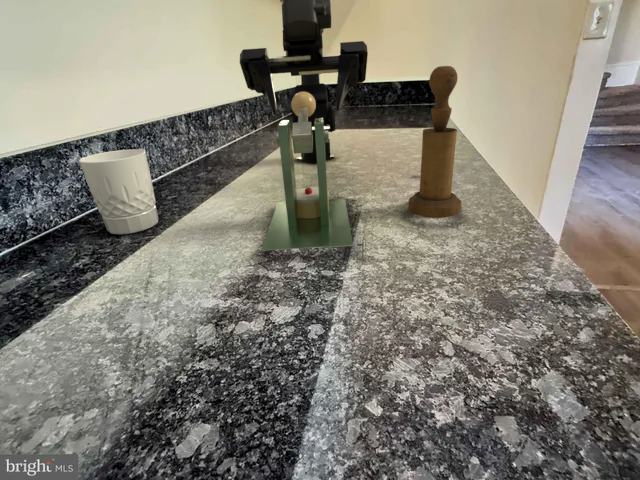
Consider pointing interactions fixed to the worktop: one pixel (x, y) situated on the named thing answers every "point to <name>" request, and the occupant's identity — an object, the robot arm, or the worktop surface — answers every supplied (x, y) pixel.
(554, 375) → the worktop surface
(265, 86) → the robot arm
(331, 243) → the slicer bracket
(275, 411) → the worktop surface
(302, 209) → the cake
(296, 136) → the lever
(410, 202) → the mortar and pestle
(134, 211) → the white cup
